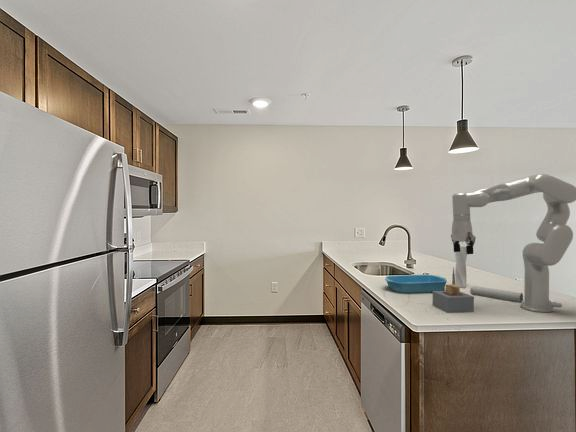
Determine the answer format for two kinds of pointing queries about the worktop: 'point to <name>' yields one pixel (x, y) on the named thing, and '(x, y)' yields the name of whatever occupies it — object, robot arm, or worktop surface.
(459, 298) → the socket
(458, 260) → the skyscraper
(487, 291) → the tube
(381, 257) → the worktop surface
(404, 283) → the casserole dish
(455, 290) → the peg
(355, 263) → the worktop surface
